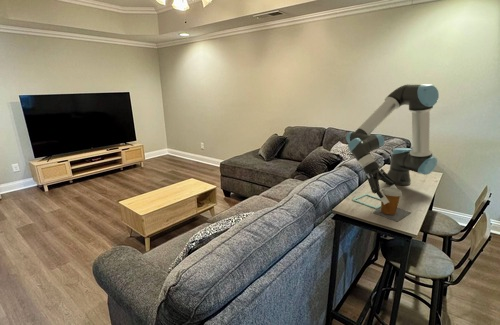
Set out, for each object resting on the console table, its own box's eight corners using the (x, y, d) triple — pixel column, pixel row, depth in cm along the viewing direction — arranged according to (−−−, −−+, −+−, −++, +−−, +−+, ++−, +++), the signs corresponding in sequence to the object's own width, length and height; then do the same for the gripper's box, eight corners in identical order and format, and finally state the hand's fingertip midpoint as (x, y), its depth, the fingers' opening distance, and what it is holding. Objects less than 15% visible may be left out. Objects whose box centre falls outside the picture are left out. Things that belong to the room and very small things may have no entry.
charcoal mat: (387, 205, 143) (387, 204, 143) (410, 213, 134) (411, 212, 134) (372, 212, 135) (373, 211, 134) (397, 221, 125) (397, 220, 125)
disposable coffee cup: (403, 215, 130) (407, 192, 127) (387, 216, 127) (390, 192, 125) (388, 208, 139) (391, 186, 136) (373, 209, 136) (376, 187, 134)
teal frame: (365, 194, 158) (365, 193, 158) (389, 202, 147) (390, 201, 147) (351, 200, 149) (352, 199, 149) (376, 209, 138) (376, 208, 138)
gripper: (375, 164, 150) (398, 197, 143) (350, 172, 135) (375, 209, 128) (385, 157, 144) (410, 190, 137) (361, 164, 130) (387, 203, 122)
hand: (393, 199), depth 133 cm, fingers open, 13 cm apart
